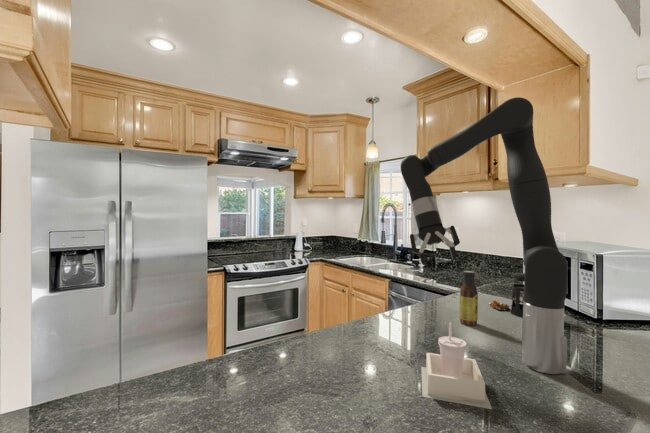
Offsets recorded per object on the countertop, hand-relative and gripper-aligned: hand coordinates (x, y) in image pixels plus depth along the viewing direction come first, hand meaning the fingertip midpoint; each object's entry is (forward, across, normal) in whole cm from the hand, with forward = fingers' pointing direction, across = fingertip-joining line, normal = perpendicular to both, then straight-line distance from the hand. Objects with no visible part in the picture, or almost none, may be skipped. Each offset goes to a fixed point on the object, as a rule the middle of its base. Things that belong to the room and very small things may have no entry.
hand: (439, 262), depth 94 cm
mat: (+30, -7, -15) cm, 35 cm away
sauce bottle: (+22, +8, +33) cm, 40 cm away
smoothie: (+29, -7, -15) cm, 34 cm away
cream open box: (+30, -7, -15) cm, 34 cm away
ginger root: (+20, +27, +59) cm, 68 cm away
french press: (+24, +34, +51) cm, 66 cm away
